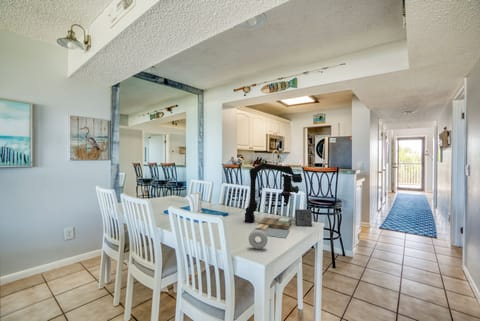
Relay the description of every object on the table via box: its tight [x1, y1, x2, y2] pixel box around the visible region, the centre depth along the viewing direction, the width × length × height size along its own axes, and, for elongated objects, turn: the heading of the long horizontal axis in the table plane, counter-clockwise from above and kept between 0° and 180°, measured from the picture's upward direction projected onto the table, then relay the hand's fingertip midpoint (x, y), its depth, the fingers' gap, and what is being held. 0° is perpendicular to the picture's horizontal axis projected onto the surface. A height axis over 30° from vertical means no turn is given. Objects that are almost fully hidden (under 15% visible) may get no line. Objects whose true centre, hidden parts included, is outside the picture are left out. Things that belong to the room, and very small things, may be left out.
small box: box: [294, 208, 313, 227], centre depth 161 cm, size 11×6×10 cm, turn 84°
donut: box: [248, 229, 269, 250], centre depth 120 cm, size 10×4×10 cm, turn 80°
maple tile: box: [255, 224, 269, 231], centre depth 151 cm, size 6×8×2 cm
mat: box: [252, 227, 290, 239], centre depth 145 cm, size 22×14×1 cm, turn 69°
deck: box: [258, 217, 292, 231], centre depth 159 cm, size 20×14×3 cm
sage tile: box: [278, 217, 291, 224], centre depth 158 cm, size 6×8×2 cm
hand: (287, 203), depth 170 cm, fingers closed
